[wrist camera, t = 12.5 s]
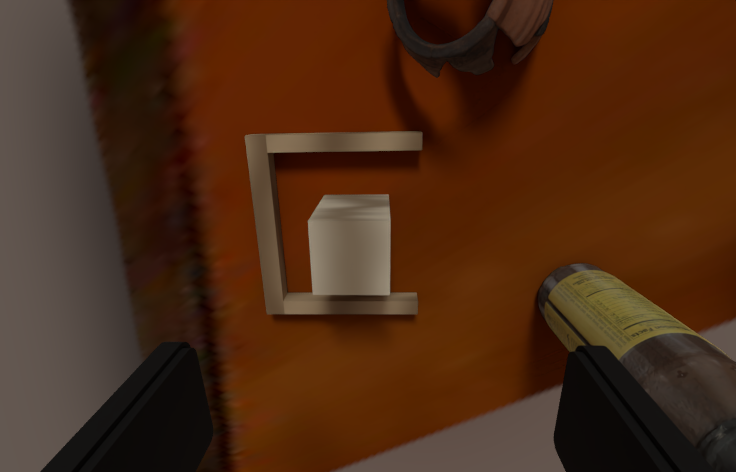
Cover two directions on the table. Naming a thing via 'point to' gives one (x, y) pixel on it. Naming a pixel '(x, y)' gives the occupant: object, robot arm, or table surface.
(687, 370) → the sauce bottle
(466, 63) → the broken clay pot rim
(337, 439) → the table surface
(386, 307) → the oak bay
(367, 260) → the birch block
